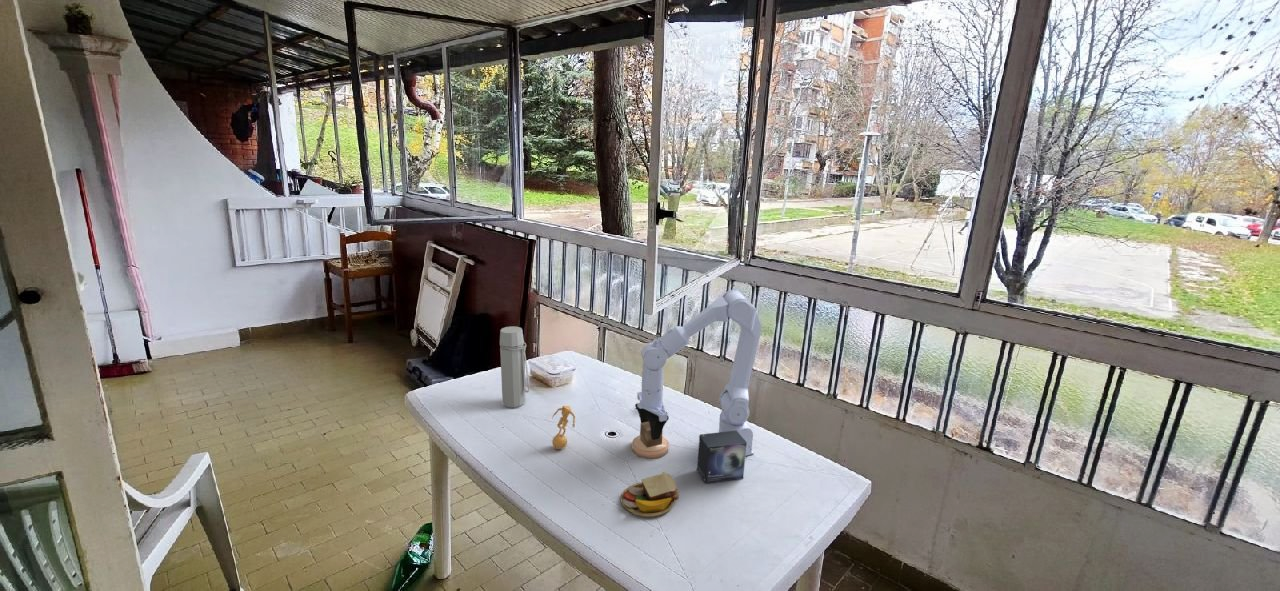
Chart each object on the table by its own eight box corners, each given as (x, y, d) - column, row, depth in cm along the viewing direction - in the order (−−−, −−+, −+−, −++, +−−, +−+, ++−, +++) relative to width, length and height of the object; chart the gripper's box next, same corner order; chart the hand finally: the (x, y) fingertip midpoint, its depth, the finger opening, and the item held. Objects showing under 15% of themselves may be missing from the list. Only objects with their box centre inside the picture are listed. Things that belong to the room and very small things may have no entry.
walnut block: (661, 444, 147) (662, 427, 146) (647, 447, 145) (647, 430, 144) (654, 436, 151) (655, 420, 150) (640, 439, 149) (640, 423, 148)
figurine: (543, 446, 149) (542, 406, 146) (559, 437, 153) (558, 398, 150) (565, 456, 144) (565, 415, 141) (581, 447, 148) (580, 407, 145)
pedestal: (674, 453, 146) (675, 447, 146) (641, 461, 142) (641, 454, 142) (658, 436, 155) (658, 430, 155) (626, 443, 151) (626, 436, 151)
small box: (705, 485, 133) (707, 447, 130) (695, 470, 139) (698, 433, 136) (744, 479, 136) (747, 442, 133) (733, 465, 142) (736, 429, 139)
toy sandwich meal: (617, 488, 131) (617, 471, 130) (671, 484, 134) (672, 467, 132) (625, 522, 119) (625, 503, 118) (684, 517, 122) (685, 498, 120)
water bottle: (497, 407, 170) (493, 332, 164) (510, 397, 177) (507, 324, 171) (523, 412, 167) (521, 335, 161) (535, 401, 175) (533, 327, 168)
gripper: (627, 379, 149) (626, 424, 152) (650, 401, 136) (649, 449, 140) (650, 375, 152) (649, 419, 155) (675, 396, 139) (673, 444, 142)
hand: (650, 433), depth 148 cm, fingers open, 5 cm apart
